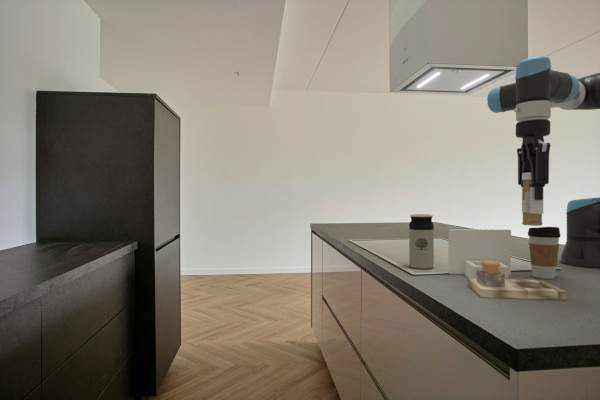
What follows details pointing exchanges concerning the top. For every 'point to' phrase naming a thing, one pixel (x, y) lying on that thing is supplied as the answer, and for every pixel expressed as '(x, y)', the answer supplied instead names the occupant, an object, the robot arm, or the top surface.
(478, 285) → the socket block
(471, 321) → the top surface
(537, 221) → the sprinkles bottle
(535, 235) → the coffee cup
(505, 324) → the top surface
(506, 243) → the tall white box
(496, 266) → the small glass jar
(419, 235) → the travel mug
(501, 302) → the top surface
